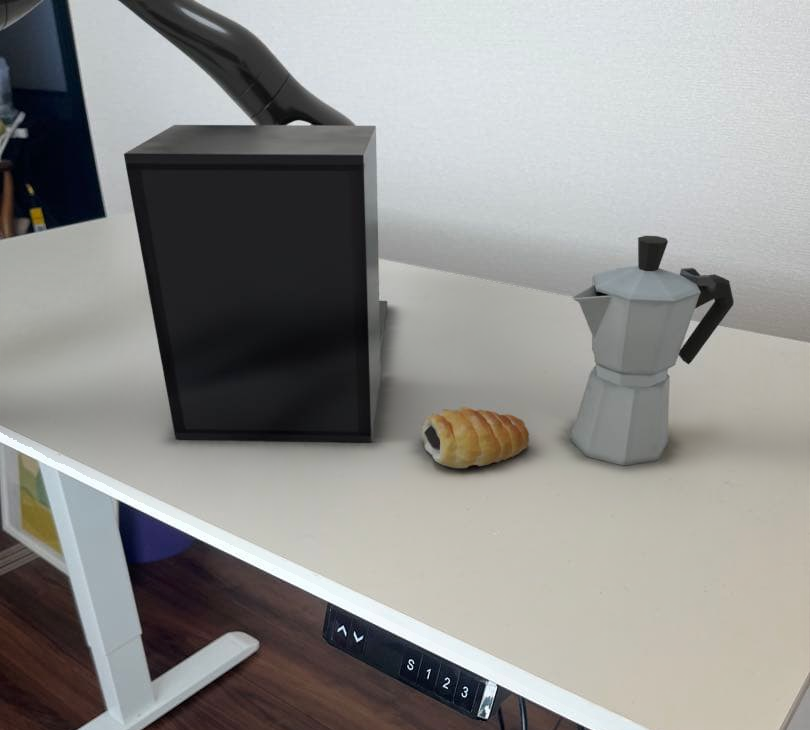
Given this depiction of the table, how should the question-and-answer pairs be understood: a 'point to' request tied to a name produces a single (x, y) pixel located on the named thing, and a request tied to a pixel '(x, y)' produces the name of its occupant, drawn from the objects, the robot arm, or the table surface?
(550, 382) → the table surface
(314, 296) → the black open cabinet
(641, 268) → the coffee maker
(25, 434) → the table surface
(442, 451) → the pastry
